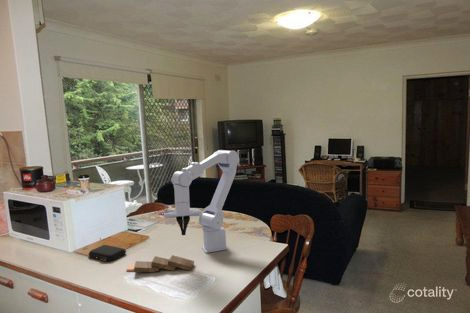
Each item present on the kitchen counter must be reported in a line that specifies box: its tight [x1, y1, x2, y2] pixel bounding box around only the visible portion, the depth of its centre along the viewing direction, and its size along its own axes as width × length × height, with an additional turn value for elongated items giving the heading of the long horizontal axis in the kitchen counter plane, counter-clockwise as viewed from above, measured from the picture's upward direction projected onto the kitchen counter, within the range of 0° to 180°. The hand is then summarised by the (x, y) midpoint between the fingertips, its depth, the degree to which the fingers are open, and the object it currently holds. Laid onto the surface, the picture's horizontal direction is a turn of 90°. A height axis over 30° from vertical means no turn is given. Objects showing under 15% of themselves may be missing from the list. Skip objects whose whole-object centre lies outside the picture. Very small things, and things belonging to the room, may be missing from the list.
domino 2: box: [151, 255, 177, 271], centre depth 125 cm, size 2×5×9 cm
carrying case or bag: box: [88, 244, 127, 262], centre depth 140 cm, size 11×3×15 cm
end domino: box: [126, 263, 135, 272], centre depth 126 cm, size 2×5×9 cm
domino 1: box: [133, 260, 160, 273], centre depth 123 cm, size 2×5×9 cm
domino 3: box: [167, 254, 195, 272], centre depth 125 cm, size 2×5×9 cm
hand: (183, 234), depth 131 cm, fingers closed
